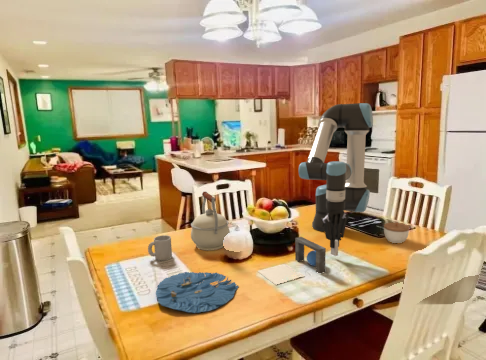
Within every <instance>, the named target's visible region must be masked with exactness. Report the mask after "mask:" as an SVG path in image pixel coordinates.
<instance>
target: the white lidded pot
mask: <svg viewBox="0 0 486 360" xmlns="http://www.w3.org/2000/svg"><path fill="white" fill-rule="evenodd" d="M383 227H384V228H383V233H384V237H385V238H386V239H387V241H388V242H389V241H390V242H392V243H391V244H393V243H402V242H403V243H404V242H405V241H406V240H407V239H408V237H409V232H410V226H409V225H407V224H404V223H400V222H397V221H396V222H387V223H386V222H385V224H383ZM390 242H389V243H390ZM403 243H402V244H403Z"/></svg>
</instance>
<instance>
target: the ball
mask: <svg viewBox="0 0 486 360" xmlns="http://www.w3.org/2000/svg"><path fill="white" fill-rule="evenodd" d="M306 261H307V263H308V264H309V265H310V266H313V267H316V251H315V250H311V251H309V252H308V253H307V256H306Z"/></svg>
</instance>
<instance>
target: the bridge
mask: <svg viewBox="0 0 486 360" xmlns="http://www.w3.org/2000/svg"><path fill="white" fill-rule="evenodd" d="M294 239H295V241H294V242H295V243H294V244H295V251H294V252H295V253H294V255H295V261H296V262H302V260H303V261H305V247H307V248H309V249H311V250H312V251H316V266H315V273H317V272H318V273H321V274H324V273H326V251H327V249H326V247H324V246H322V245H320V244H318V243H315V242H313V241H311V240H309V239H307V238H305V237H303V236H298V237H295V238H294ZM323 272H324V273H323ZM318 273H317V274H318Z"/></svg>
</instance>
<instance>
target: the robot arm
mask: <svg viewBox="0 0 486 360" xmlns="http://www.w3.org/2000/svg"><path fill="white" fill-rule="evenodd" d="M372 127H374V116H373V110H372V106H371V104H370V103H367V102H365V103H364V102H363V103H361V102H360V103H359V102H358V103H356V102H355V103H339V104H335V105H332V106H330V107H329V108H327V110H325V111H324V112H323V114H322V115H321V116H320V118H319V119H318V122H317V128H318V129H317V131H316V134H315V137H314V140H313V143H312V145H311V149H310V152H309V155H308V157H307V160H306V161H304V162H301V163H300V164H299V165H298V176H299V178H300V179H303V180H311V181H312V180H315V181H326V183H325V184H323V185H321V184H320V185H319V186H317V187H316V190H315V214H314V217H313V220H312V224H311V228H312V227H313V228H314V229H313V228H312V229H313V230H315V229H316V231H318V230H319V231H318V232H323V231H325V232H324V234H325V239H326V240H328V241H329V248H330V254H331V255H333V256H334V257H336V256H339V247H340V241H341V240H342V239H343V238H344V234H345V231H346V225H347V220H348V219H349V214H347V213H345V211H346V212H354V213H364V212H365V211H366V210H367V207H368V205H369V199H370V193H371V192H370V189H368V185H367V184H366V183H365V180H364V179H365V163H366V162H365V158H366V135H367V134H368V133H369V132H370V128H372ZM339 128H344V132H345V134H346V135H347V138H346V140H347V146H346V149H347V150H346V162H344V161H341V160H340V161H339V160H338V161H336V160H335V161H334V160H333V161H329V162H325V160H326V158H327V154H328V150H329V147H330V145H331V141H332V139H333V135H334V133H335V132H336V131H337V130H338V129H339Z"/></svg>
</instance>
